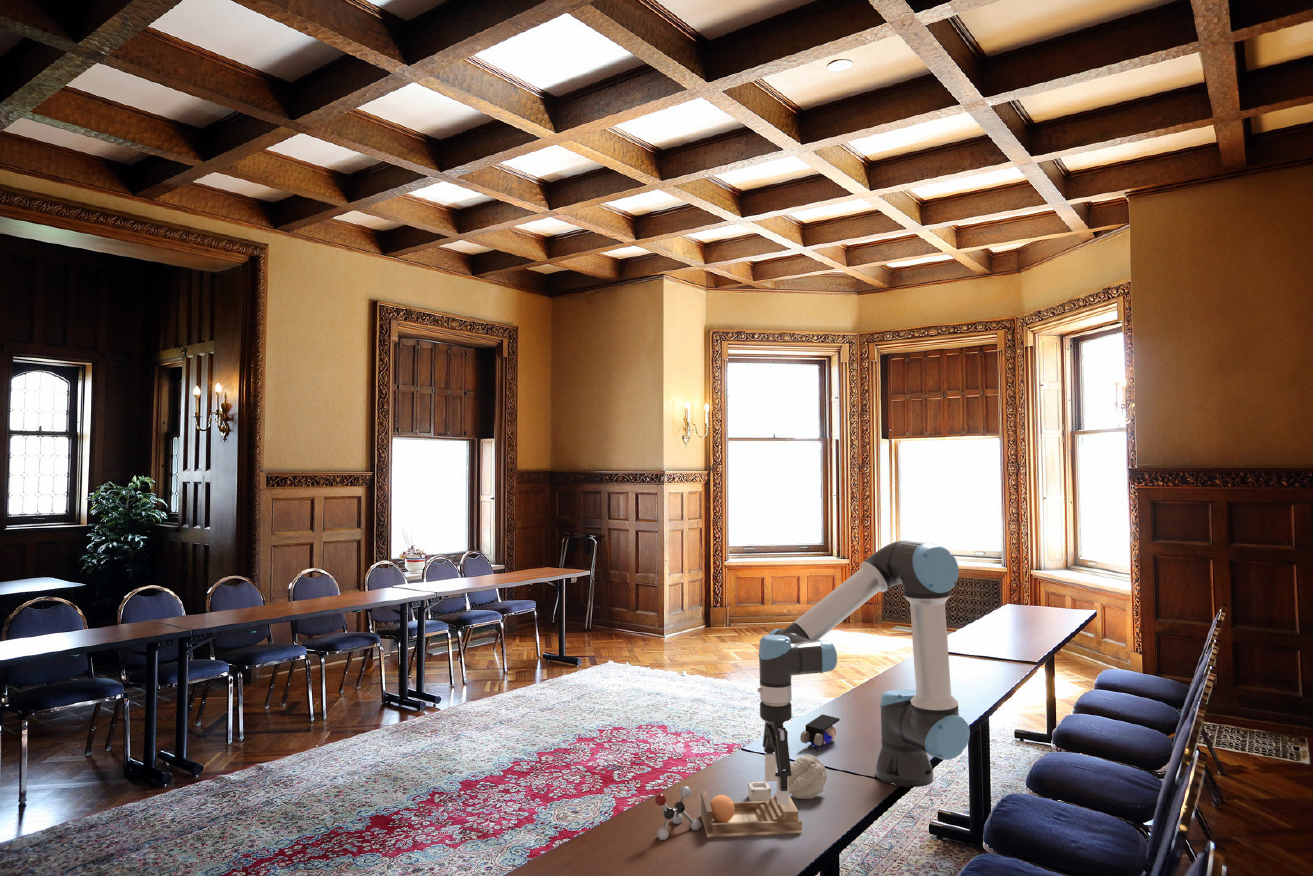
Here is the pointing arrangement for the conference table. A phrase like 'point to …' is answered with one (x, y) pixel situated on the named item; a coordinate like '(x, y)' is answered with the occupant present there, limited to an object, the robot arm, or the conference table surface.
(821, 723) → the figurine character
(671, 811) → the molecular model
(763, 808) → the wooden stepped tray
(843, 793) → the conference table surface
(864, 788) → the conference table surface
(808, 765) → the fossil replica
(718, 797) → the ball
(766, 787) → the white open box
